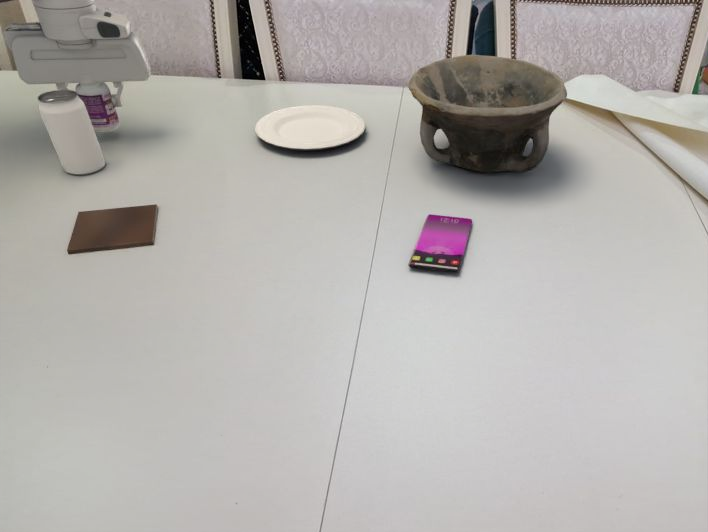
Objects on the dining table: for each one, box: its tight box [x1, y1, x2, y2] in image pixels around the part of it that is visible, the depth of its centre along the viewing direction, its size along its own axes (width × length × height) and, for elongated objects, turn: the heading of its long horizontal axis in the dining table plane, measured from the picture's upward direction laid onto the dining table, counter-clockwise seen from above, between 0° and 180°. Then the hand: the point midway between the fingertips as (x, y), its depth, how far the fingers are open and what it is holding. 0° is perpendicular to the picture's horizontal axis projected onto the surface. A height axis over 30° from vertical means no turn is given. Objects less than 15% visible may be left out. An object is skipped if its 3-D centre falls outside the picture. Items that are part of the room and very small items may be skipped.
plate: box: [254, 104, 366, 152], centre depth 119 cm, size 21×21×2 cm
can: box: [37, 89, 106, 176], centre depth 101 cm, size 6×6×12 cm
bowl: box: [408, 54, 568, 174], centre depth 109 cm, size 27×26×15 cm
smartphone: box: [407, 213, 473, 274], centre depth 92 cm, size 7×15×1 cm, turn 172°
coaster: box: [66, 203, 158, 255], centre depth 91 cm, size 11×11×1 cm
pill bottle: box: [74, 76, 121, 133], centre depth 110 cm, size 5×5×10 cm
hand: (98, 106), depth 111 cm, fingers closed on pill bottle, 5 cm apart
